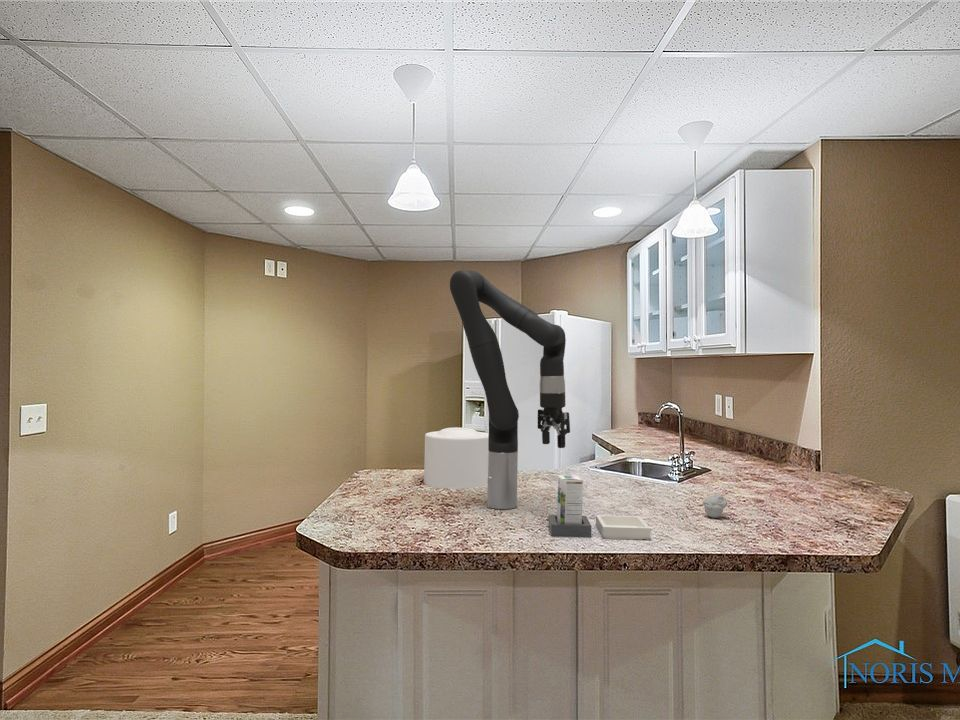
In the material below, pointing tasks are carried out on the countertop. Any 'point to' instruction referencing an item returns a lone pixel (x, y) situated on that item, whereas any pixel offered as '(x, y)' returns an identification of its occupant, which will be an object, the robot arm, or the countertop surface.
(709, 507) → the frog figurine
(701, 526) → the countertop surface
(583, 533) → the socket
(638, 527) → the tray
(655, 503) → the countertop surface
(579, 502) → the syrup box
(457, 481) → the container
